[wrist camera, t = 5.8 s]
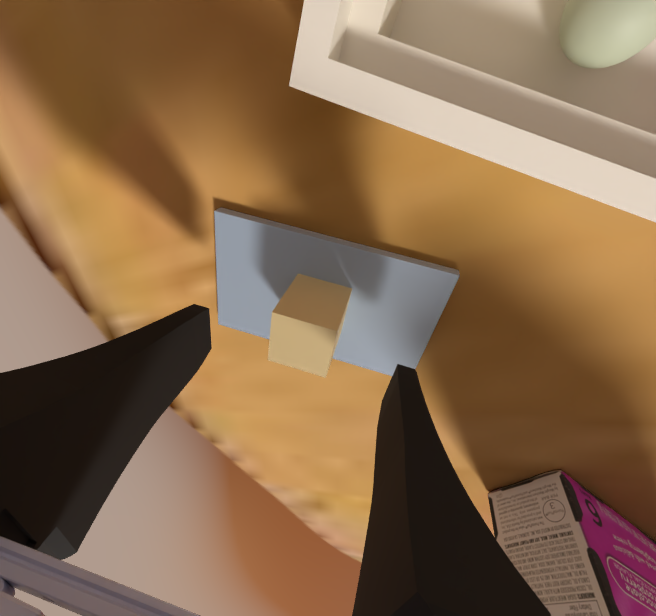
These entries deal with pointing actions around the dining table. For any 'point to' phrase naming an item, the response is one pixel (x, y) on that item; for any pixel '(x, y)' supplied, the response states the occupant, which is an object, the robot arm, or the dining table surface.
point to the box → (501, 82)
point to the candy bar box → (574, 548)
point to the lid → (325, 295)
